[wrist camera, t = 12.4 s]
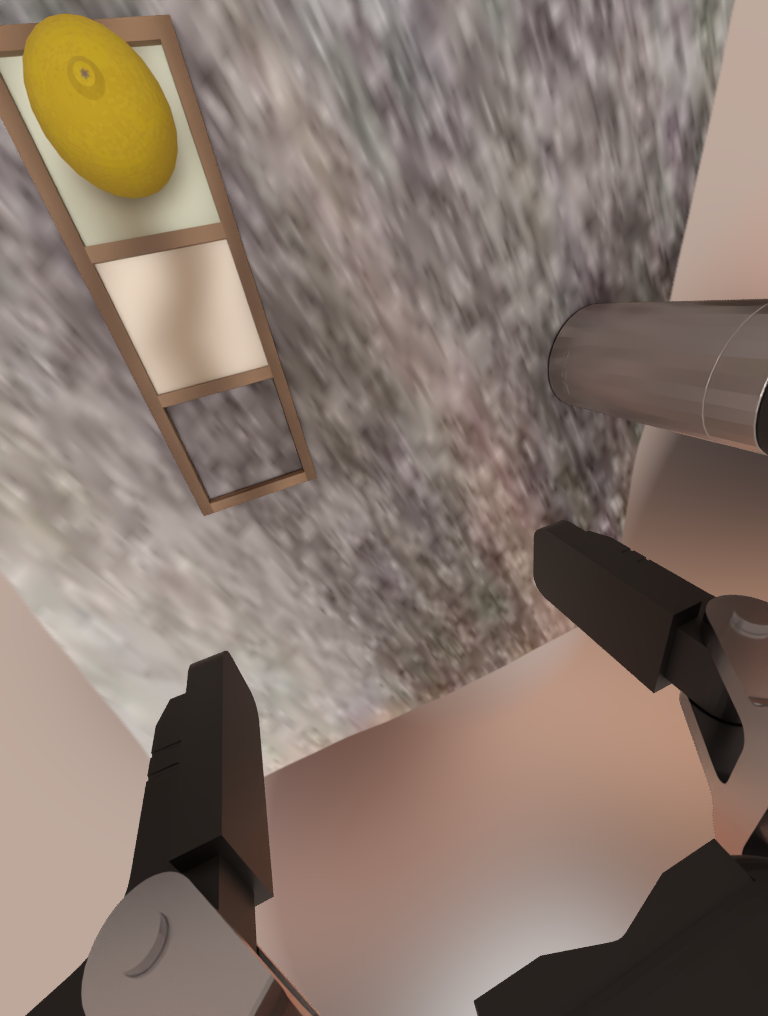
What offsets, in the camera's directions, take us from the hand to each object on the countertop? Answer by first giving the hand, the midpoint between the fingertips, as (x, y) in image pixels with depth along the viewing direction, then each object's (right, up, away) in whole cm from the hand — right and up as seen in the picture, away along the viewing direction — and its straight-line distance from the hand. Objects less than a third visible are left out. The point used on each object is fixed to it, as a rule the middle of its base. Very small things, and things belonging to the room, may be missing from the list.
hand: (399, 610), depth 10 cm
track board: (-13, +15, +16) cm, 25 cm away
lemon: (-14, +22, +12) cm, 29 cm away
